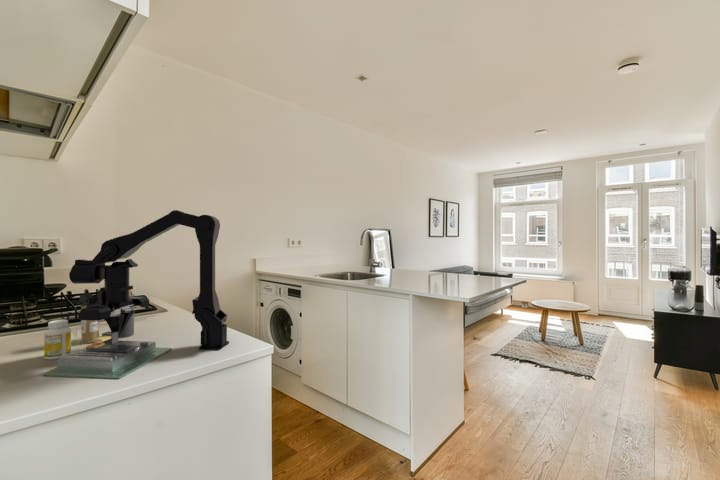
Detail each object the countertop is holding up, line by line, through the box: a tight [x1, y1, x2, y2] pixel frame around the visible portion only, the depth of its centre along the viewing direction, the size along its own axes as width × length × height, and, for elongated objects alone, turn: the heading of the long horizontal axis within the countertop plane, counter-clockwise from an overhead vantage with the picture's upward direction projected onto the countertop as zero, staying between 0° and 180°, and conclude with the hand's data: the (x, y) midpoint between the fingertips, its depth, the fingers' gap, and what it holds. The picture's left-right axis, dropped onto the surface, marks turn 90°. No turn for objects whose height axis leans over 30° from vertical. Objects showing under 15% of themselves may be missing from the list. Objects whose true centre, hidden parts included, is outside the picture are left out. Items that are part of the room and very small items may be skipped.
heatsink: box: [43, 339, 173, 380], centre depth 85 cm, size 19×19×4 cm
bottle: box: [113, 289, 135, 339], centre depth 107 cm, size 6×6×15 cm
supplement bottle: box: [43, 319, 72, 360], centre depth 89 cm, size 5×5×10 cm
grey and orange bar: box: [85, 342, 144, 352], centre depth 85 cm, size 13×3×1 cm, turn 87°
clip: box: [93, 330, 119, 344], centre depth 89 cm, size 3×5×3 cm, turn 177°
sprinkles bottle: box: [80, 305, 100, 345], centre depth 101 cm, size 5×5×14 cm
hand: (116, 337), depth 93 cm, fingers closed
